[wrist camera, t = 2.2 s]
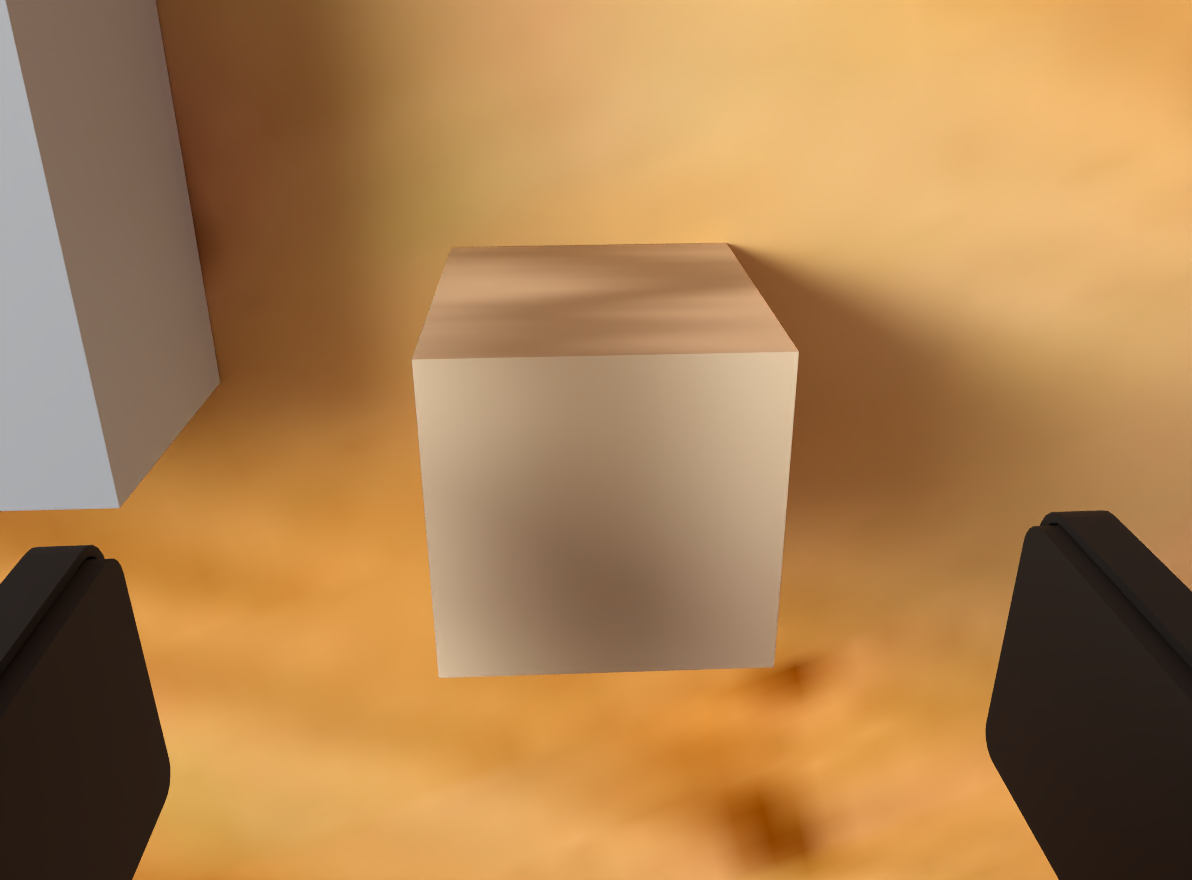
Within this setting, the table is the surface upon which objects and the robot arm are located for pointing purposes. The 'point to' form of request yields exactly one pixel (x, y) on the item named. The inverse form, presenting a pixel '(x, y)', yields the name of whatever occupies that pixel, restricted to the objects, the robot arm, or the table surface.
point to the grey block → (93, 256)
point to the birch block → (603, 460)
